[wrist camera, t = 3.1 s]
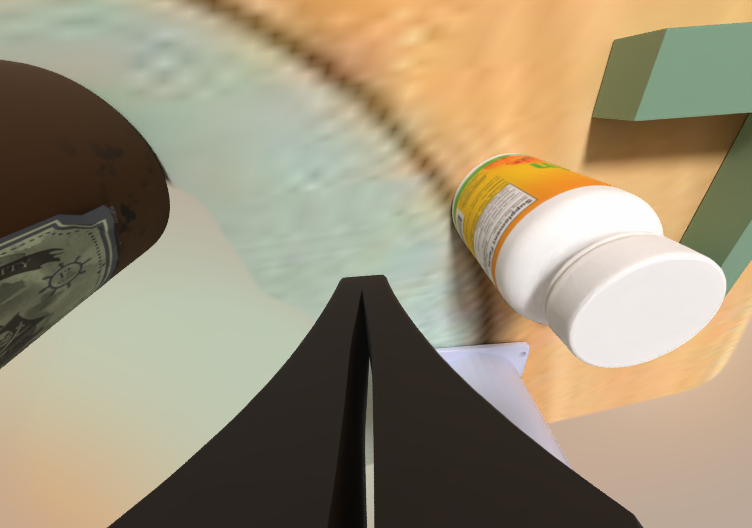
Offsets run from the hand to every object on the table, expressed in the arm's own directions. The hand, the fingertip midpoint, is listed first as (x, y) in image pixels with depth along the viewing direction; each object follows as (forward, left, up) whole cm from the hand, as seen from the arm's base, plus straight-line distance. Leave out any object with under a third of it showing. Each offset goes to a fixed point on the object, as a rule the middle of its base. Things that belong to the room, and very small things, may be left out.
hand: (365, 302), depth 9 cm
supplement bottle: (0, -8, -8) cm, 11 cm away
